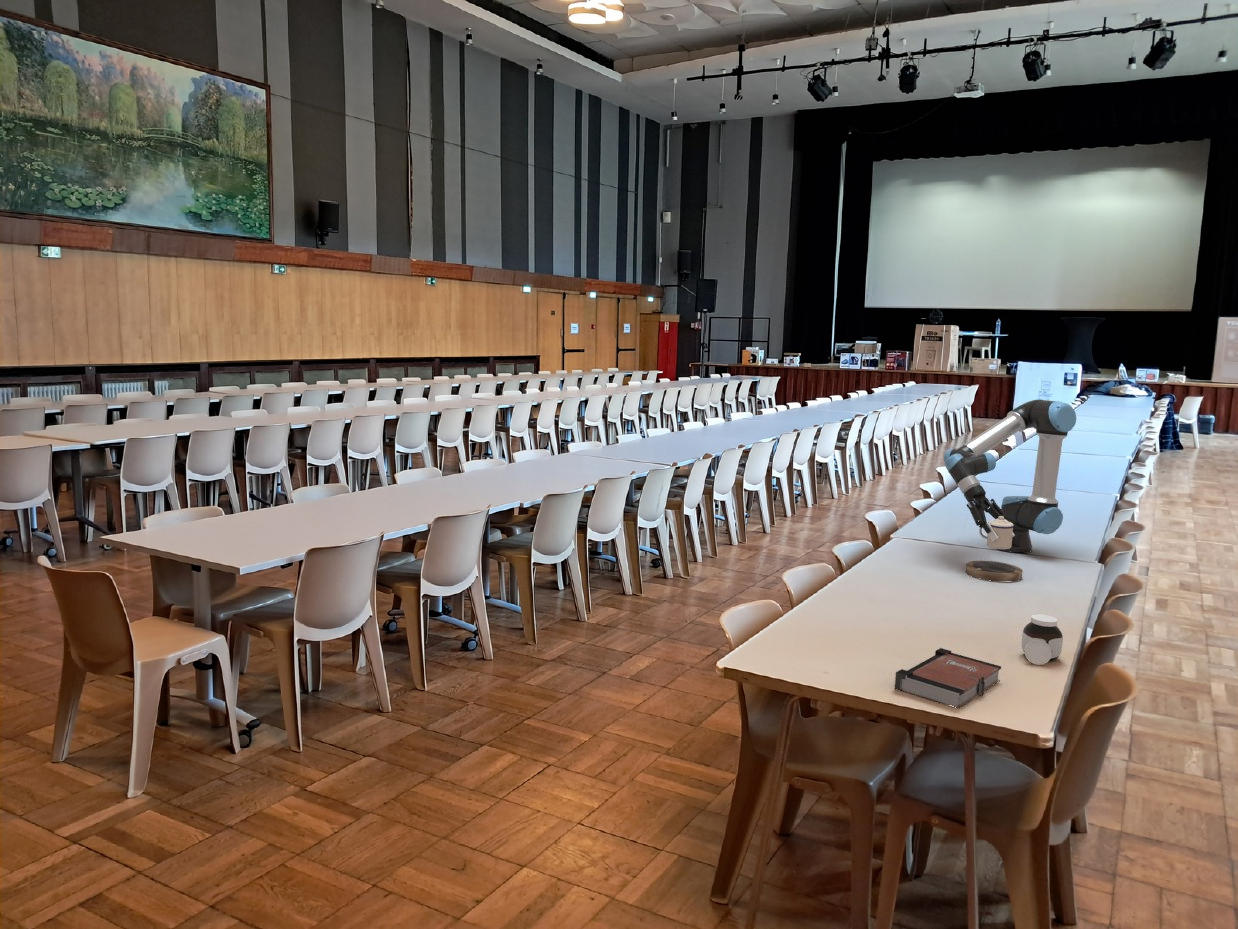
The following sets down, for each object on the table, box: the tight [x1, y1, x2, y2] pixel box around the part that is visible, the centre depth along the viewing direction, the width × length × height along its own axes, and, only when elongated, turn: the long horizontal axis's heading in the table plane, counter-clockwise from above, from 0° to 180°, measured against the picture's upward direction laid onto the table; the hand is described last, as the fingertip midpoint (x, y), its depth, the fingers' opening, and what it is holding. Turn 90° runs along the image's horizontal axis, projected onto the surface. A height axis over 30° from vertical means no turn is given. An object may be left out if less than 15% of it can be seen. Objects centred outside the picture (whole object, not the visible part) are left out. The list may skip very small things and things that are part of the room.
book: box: [894, 647, 1002, 709], centre depth 235 cm, size 26×18×5 cm
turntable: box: [964, 560, 1024, 582], centre depth 344 cm, size 20×20×3 cm
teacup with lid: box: [978, 516, 1014, 550], centre depth 341 cm, size 12×9×12 cm
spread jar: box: [1021, 613, 1064, 666], centre depth 255 cm, size 12×11×12 cm
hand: (1003, 538), depth 339 cm, fingers closed on teacup with lid, 9 cm apart
